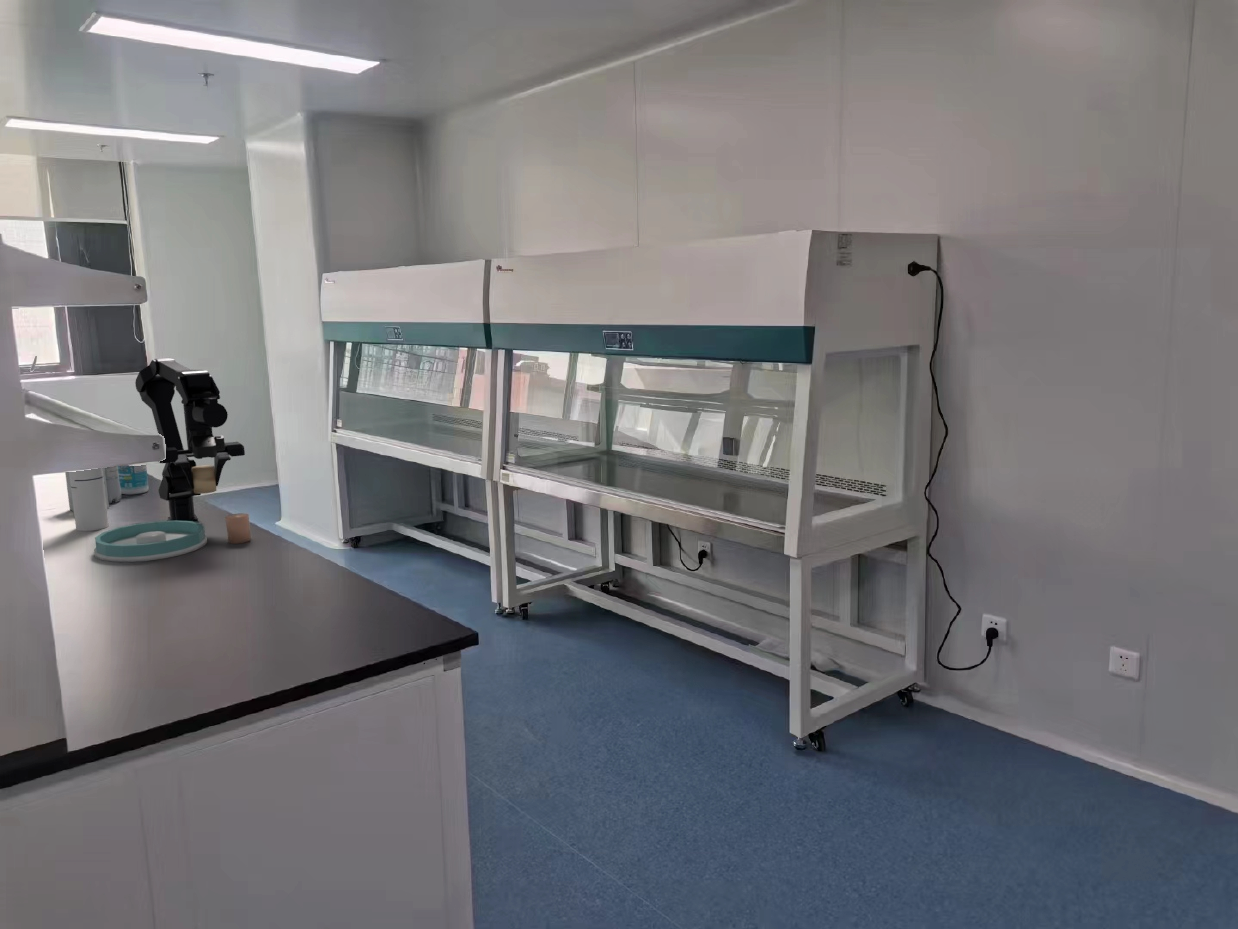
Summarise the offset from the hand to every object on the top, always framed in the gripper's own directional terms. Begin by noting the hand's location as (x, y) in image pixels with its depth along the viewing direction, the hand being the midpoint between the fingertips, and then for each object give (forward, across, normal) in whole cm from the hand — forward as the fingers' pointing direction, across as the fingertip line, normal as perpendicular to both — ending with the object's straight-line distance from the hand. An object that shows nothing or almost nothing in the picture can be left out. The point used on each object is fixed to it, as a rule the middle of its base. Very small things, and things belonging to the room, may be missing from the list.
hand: (204, 487), depth 219 cm
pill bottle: (+11, -11, +61) cm, 63 cm away
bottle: (+11, -18, +51) cm, 55 cm away
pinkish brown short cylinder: (+11, +5, -14) cm, 18 cm away
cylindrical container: (+11, -24, +21) cm, 33 cm away
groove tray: (+11, -13, -8) cm, 19 cm away
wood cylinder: (+1, 0, 0) cm, 1 cm away
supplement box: (+11, -23, +44) cm, 51 cm away
